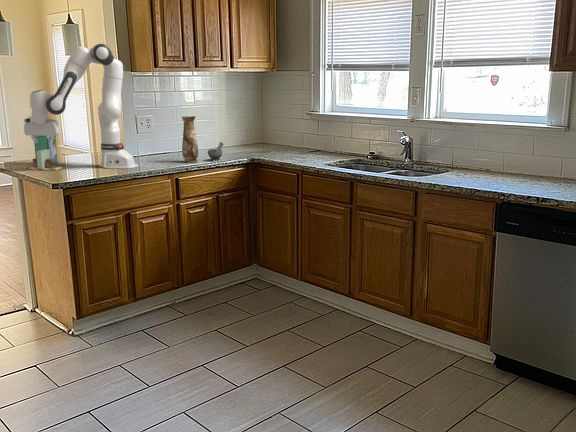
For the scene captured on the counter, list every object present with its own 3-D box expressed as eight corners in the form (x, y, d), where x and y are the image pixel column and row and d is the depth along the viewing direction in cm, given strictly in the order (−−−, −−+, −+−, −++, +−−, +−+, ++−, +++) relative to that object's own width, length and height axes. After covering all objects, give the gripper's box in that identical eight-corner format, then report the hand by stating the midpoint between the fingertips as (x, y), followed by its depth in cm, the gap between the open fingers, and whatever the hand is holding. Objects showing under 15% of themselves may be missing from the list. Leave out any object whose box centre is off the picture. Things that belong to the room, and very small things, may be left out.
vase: (200, 162, 369) (199, 115, 362) (184, 163, 364) (183, 116, 357) (195, 160, 378) (194, 114, 371) (179, 161, 373) (178, 115, 366)
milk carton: (49, 165, 350) (45, 123, 344) (36, 164, 351) (32, 123, 345) (57, 163, 358) (54, 122, 352) (45, 162, 360) (41, 122, 354)
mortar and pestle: (211, 161, 374) (211, 143, 371) (205, 159, 382) (205, 142, 379) (226, 160, 380) (226, 142, 377) (220, 158, 388) (220, 141, 385)
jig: (62, 168, 337) (61, 158, 335) (55, 170, 330) (54, 160, 329) (33, 167, 339) (32, 157, 338) (26, 169, 332) (25, 159, 331)
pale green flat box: (46, 166, 339) (45, 149, 337) (51, 166, 338) (49, 149, 336) (37, 168, 330) (36, 151, 328) (42, 168, 330) (41, 151, 327)
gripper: (60, 118, 329) (62, 142, 333) (27, 118, 332) (30, 142, 336) (54, 119, 323) (57, 144, 327) (21, 119, 326) (24, 143, 330)
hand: (43, 143), depth 331 cm, fingers open, 8 cm apart
